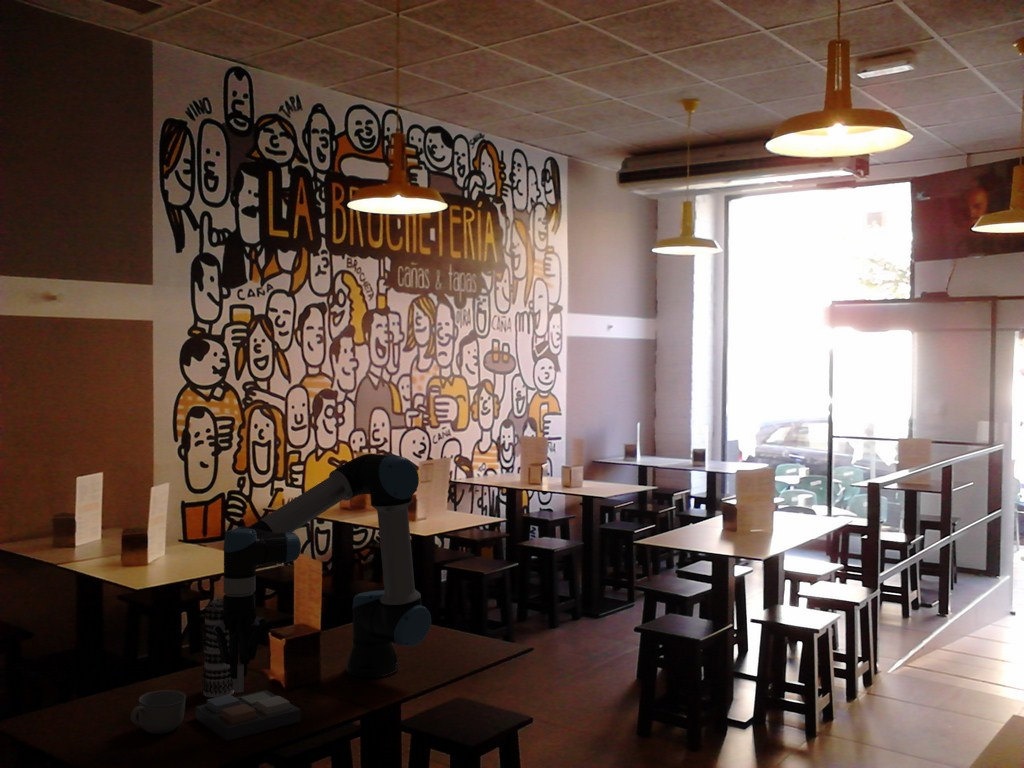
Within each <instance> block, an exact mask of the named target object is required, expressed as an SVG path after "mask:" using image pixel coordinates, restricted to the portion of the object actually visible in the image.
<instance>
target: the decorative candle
mask: <svg viewBox="0 0 1024 768" xmlns="http://www.w3.org/2000/svg"><path fill="white" fill-rule="evenodd" d="M204 608H205V617H204V620H203V621H202V622H201V623H202V624H201V625H202V627H201V629H202V630H201V631H202V632H203V634H202V644H203V645H204V646H203V647H202V650H203V652H204V655H205V657H204V667H203V668H202V669H203V670H202V671H203V672H204V673H202V677H203V678H204V679H203V680H202V685H203V686H202V689H203V691H202V692H203V693H202V694H203V695H202V696H205V697H207V698H210V699H212V697H213V698H216V697H220V696H225V695H229V694H230V695H233V694H234V692H235V691H233V679H232V678H230V665H227V664H225V663H224V662H222V659H221V654H220V650H219V646H218V641H217V637H216V634H215V632H214V631H213V629H212V626H213V625H217V624H218V623H219V622H221V618H222V616H223V598H215V599H212V600H210V601H209V602H208V604H207V605H205V606H204ZM223 632H224V634H225V638H226V642H227V646H228V651H229V630H228V629H227V628H226V627H225V625H224V631H223ZM235 693H236V692H235Z"/></svg>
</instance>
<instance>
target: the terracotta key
mask: <svg viewBox="0 0 1024 768" xmlns="http://www.w3.org/2000/svg"><path fill="white" fill-rule="evenodd" d="M222 719H223V720H224V721H226V722H227V723H229V724H230V725H232V724H236V723H240V722H244V721H248V720H252V719H256V710H255V709H253V708H251V707H250V706H248V705H246V704H242V705H238V706H233V707H229V708H225V709H222Z"/></svg>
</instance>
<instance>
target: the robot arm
mask: <svg viewBox="0 0 1024 768" xmlns="http://www.w3.org/2000/svg"><path fill="white" fill-rule="evenodd" d="M419 480H420V477H419V472H418V469H417V467H416V465H415V464H414V462H413V461H411V460H410V459H409V458H407V457H405V456H400V455H396V454H379V453H367V454H362V455H359V456H357V457H354V458H353V459H351V460H349V461H346V462H345V463H343V464H341V465H340V466H338V467H336V468H334V470H332V471H330V473H329V476H328V477H327V478H326V479H323V480H322V481H321V482H319V483H317V484H315V485H314V486H313V487H311V488H310V489H308V490H306V491H304V492H302V493H301V494H299V496H297V497H295V498H293V499H291V500H290V501H288V502H286V503H285V504H283V505H282V506H280V507H279V508H277V509H276V510H274V511H272V512H271V513H268V514H267V515H265V516H264V517H262V518H261V519H259V520H258V521H255V522H254V523H253V524H251V525H248V526H238V527H236V528H232V529H230V530H229V529H228V531H226V532H225V534H224V541H223V548H222V550H223V591H222V592H223V593H224V595H223V597H222V599H223V616H222V618H221V622H219V623H218V624H217V625H213V626H212V629H213V631H214V632H215V634H216V637H217V641H218V646H219V650H220V654H221V659H222V662H224V663H225V664H227V665H230V678H232V679H233V691H235V693H236V694H239V693H244V691H245V690H244V686H245V685H244V684H245V683H244V681H245V677H247V675H248V665H249V664H250V661H253V660H255V659H256V656H257V655H256V654H257V651H258V650H257V649H258V646H259V641H260V637H261V633H262V629H263V628H264V625H265V623H266V619H265V618H263V617H259V616H258V614H257V612H256V594H255V592H256V591H257V590H256V589H257V588H256V587H257V585H256V584H257V583H256V581H257V579H256V577H257V576H256V574H257V567H262V566H272V565H278V564H286V563H291V562H294V561H297V559H299V557H300V555H301V553H302V548H301V547H302V544H301V540H300V538H299V537H300V536H299V535H298V534H297V533H296V532H295V531H296V530H298V529H300V528H301V527H303V526H304V525H306V524H307V523H309V522H311V521H312V520H313V519H316V518H317V517H318V516H319V515H321V514H323V513H324V512H326V511H328V510H329V509H331V508H333V507H334V506H335V505H338V503H340V502H342V501H350V500H352V499H353V498H355V497H359V496H362V495H369V496H370V505H371V507H372V508H374V509H375V510H376V513H377V522H378V533H379V545H380V554H381V556H380V558H381V565H382V578H383V579H382V580H383V588H384V589H382V590H371V591H365V592H360V593H357V594H356V595H355V596H354V597H353V599H352V600H353V601H352V607H351V609H352V645H351V649H350V653H349V656H348V658H347V662H346V670H347V671H346V673H347V672H348V673H349V674H351V675H354V676H358V677H357V678H360V677H377V676H382V675H385V674H389V673H391V672H393V671H395V670H396V669H397V668H398V669H399V661H398V660H399V659H398V657H397V653H396V650H395V647H394V644H396V645H398V646H401V647H402V646H403V647H408V648H410V647H416V646H417V645H419V644H420V643H422V642H423V640H425V638H426V637H427V635H428V633H429V632H430V629H431V626H432V615H431V612H430V611H429V609H427V607H426V606H424V605H423V604H422V596H421V595H422V594H421V593H420V591H418V590H417V589H416V587H415V576H414V575H415V574H414V566H413V565H414V564H413V563H414V561H413V555H412V544H411V543H412V542H411V532H410V531H411V530H410V519H409V518H410V517H409V509H408V508H409V506H410V505H411V504H412V502H413V495H414V494H415V493H416V491H417V488H418V487H419V483H420V481H419ZM224 625H225V627H226V628H227V629H228V630H229V651H228V646H227V642H226V638H225V634H224V632H223V631H224ZM252 625H253V626H252ZM251 627H252V629H251ZM250 629H251V632H250ZM249 635H250V638H249ZM348 673H347V674H348ZM349 674H348V675H349ZM351 675H350V676H351ZM354 676H353V677H354Z"/></svg>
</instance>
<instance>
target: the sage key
mask: <svg viewBox="0 0 1024 768" xmlns="http://www.w3.org/2000/svg"><path fill="white" fill-rule="evenodd" d="M267 698H271V697H270V696H269V695H267V694H265V693H263V692H261V693H257V694H253V695H248V696H244V697H241V701H243V702H244V703H246V704H248V705H249V706H252V705H256V701H258V700H262V699H267Z"/></svg>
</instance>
